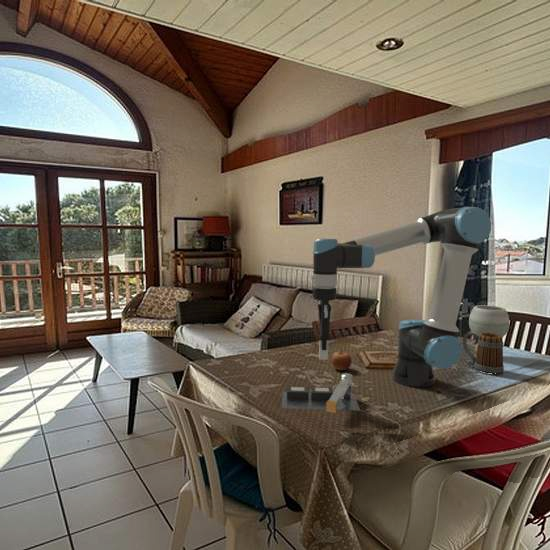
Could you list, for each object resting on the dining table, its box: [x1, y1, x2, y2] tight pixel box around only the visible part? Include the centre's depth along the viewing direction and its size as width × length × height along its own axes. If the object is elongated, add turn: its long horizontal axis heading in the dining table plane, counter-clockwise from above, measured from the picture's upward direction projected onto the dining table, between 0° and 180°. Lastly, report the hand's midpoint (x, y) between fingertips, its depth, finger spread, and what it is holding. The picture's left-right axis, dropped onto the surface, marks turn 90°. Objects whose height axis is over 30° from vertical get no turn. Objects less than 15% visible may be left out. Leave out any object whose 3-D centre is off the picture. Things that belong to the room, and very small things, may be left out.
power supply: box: [310, 386, 334, 400], centre depth 130 cm, size 7×5×2 cm
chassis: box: [281, 386, 361, 412], centre depth 127 cm, size 24×13×5 cm, turn 87°
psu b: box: [286, 385, 309, 400], centre depth 130 cm, size 7×5×2 cm
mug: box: [462, 331, 505, 375], centre depth 161 cm, size 16×11×15 cm
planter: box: [468, 304, 510, 352], centre depth 179 cm, size 16×16×22 cm
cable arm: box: [325, 372, 353, 414], centre depth 120 cm, size 24×4×3 cm, turn 159°
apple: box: [331, 349, 352, 371], centre depth 160 cm, size 8×8×8 cm
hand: (323, 358), depth 128 cm, fingers closed
